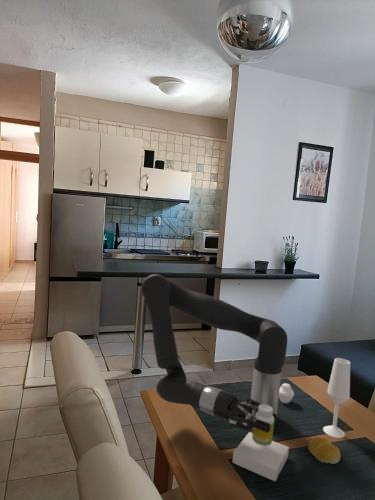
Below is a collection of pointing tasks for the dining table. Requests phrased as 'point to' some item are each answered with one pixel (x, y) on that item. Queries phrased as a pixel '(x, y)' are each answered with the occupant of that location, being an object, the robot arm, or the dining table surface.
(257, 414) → the supplement bottle
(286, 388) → the white lumpy ovoid
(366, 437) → the dining table surface
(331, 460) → the bread roll
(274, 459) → the stack of napkins
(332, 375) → the champagne flute
